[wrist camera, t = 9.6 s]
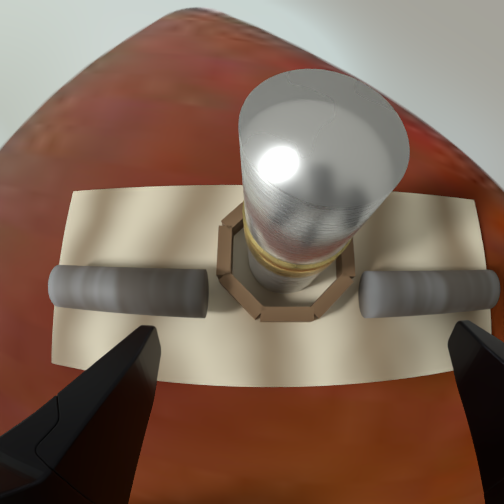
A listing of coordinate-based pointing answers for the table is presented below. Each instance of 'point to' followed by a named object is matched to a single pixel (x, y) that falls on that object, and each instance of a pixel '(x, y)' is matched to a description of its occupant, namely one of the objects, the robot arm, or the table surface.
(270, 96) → the metal cup
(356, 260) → the shaft board
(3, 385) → the table surface
